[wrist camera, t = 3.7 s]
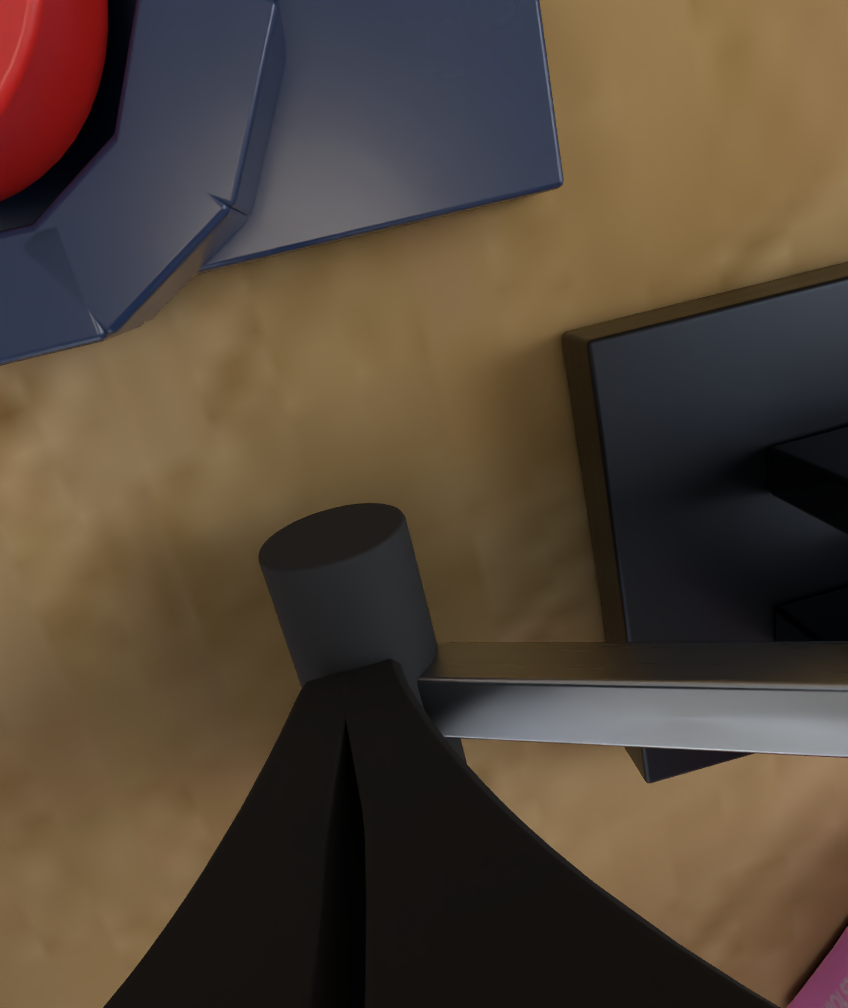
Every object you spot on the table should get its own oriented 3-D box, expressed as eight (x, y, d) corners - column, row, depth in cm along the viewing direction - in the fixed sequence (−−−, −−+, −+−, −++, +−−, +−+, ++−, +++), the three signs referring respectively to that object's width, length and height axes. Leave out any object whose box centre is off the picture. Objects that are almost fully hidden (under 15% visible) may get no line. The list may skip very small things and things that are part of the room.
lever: (380, 766, 12) (332, 864, 11) (301, 507, 11) (227, 572, 9) (1183, 822, 8) (1314, 991, 7) (1272, 424, 7) (1481, 512, 5)
